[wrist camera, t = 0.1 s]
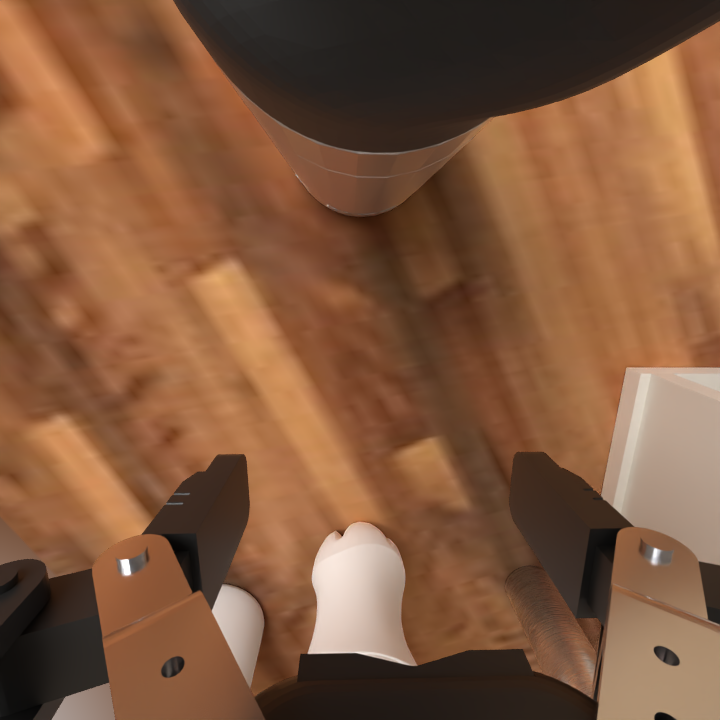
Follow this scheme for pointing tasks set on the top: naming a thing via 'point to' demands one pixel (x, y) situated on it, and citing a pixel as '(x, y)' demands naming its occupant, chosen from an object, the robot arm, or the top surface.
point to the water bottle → (360, 596)
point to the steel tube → (551, 628)
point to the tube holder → (669, 456)
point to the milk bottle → (240, 626)
